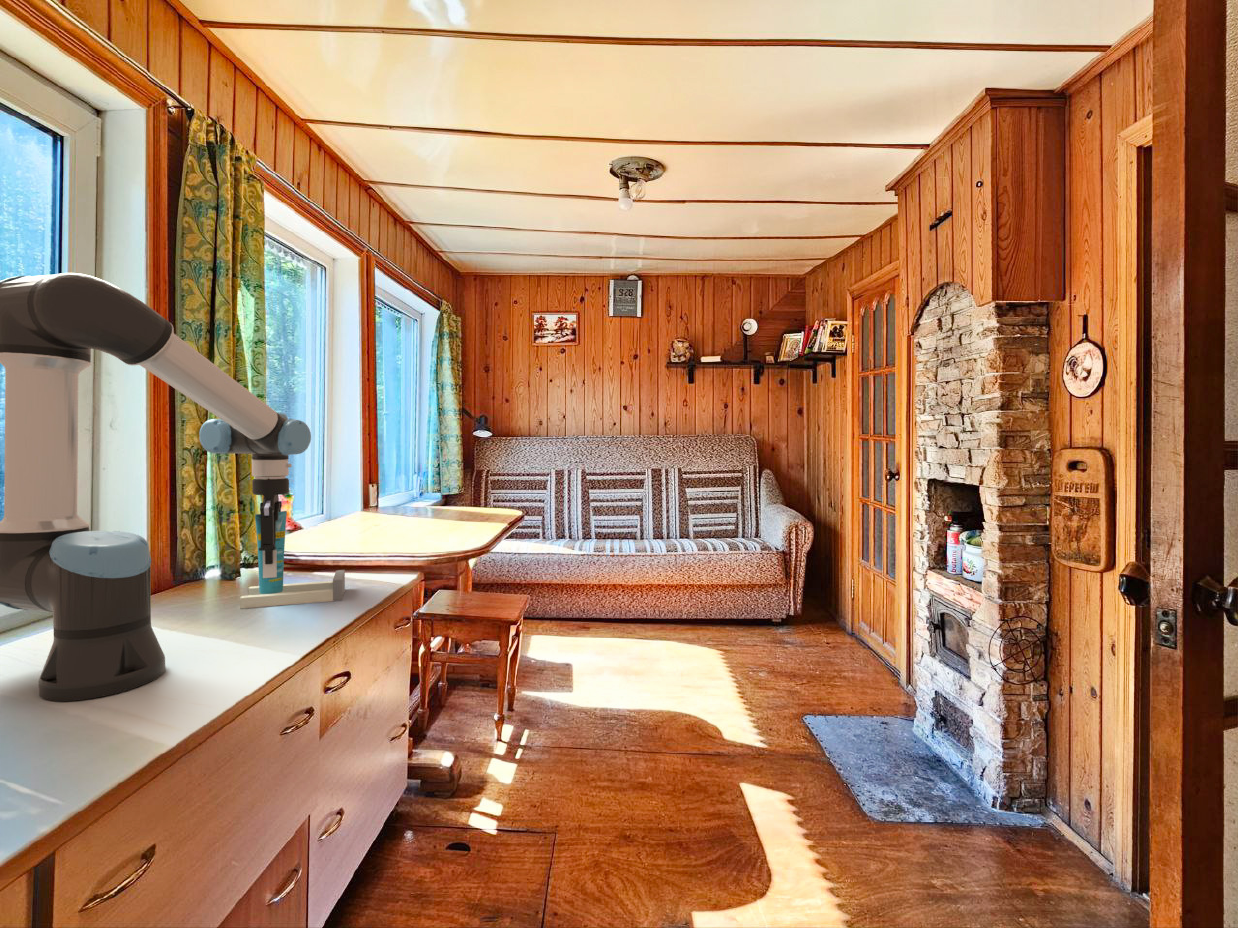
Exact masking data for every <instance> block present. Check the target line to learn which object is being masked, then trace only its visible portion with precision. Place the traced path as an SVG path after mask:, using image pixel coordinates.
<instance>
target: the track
mask: <svg viewBox="0 0 1238 928" xmlns="http://www.w3.org/2000/svg"><path fill="white" fill-rule="evenodd" d="M345 571H346V570H345V569H339V570H335V573H334V574H333V575H334V576H333V578H332V580H327V581H311V582H310V581H308V582H297V583H283V591H282V592H280V593H274V594H260V593H259V585H256V586H255V585H254V586H249V587H248V594H247V595H241V596H240V598H239V607H240V608H239V609H240V610H241V609H251V608H252V609H253V608H263V607H264V608H265V607H274V606H275V607H278V606H287V605H298V604H299V605H301V604H313V603H314V604H315V603H323V602H327V603H328V602H337V601H343V598H344V593H345V591H346V590H345V589H346V583H345V581H346V580H345V579H346V576H345V575H346V574H345V573H346V572H345Z"/></svg>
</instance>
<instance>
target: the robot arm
mask: <svg viewBox="0 0 1238 928" xmlns="http://www.w3.org/2000/svg"><path fill="white" fill-rule="evenodd" d="M174 329H175V328H174V325H173V324H172V323H171V322H170V321H169V320H167V319H166V318H165V317H164V316H162V315H161V314H160V313H158V312H157V311H156V310H154V309H153V308H152V307H150V306H149V305H147V304H146V303H144V302H143V301H141V300H140V299H139V298H137V297H135V296H133V295H132V294H131V293H128V291H125V290H124V289H122V288H120V287H118V286H116V285H115V284H112V283H110V282H108V281H106V280H103V279H101V278H98V277H95V276H92V275H88V274H84V273H76V272H63V273H56V274H45V275H44V274H43V275H34V276H33V275H32V276H30V275H19V276H12V277H8V278H5V279H2V280H0V364H1V366H3V367H4V370H5V372H4V373H5V374H4V375H5V380H4V382H5V385H4V387H5V390H4V391H5V392H4V492H3V494H4V497H3V498H4V505H3V506H4V507H3V508H4V509H3V510H4V511H3V512H4V513H3V514H4V515H3V518H2V519H1V520H0V605H1V606H4V607H7V608H10V609H15V610H23V611H24V610H25V611H27V610H28V611H38V612H47V613H52V621H53V622H52V623H53V624H52V625H53V642H52V645H51V647H50V651H49V653H48V655H47V658H46V660H45V663H44V664H43V669H42V671H41V674H40V675H39V678H38V696H39V697H40V698H42V699H44V700H47V701H56V702H57V701H58V702H69V701H70V702H71V701H80V700H81V701H82V700H83V701H84V700H88V699H89V700H90V699H96V698H101V697H106V696H111V695H114V694H119V693H123V692H126V691H129V690H133V689H135V688H139V687H142V686H144V685H147V684H148V683H150V682H152V681H155V680H156V679H158V678H159V677H160V676H161V677H162V675H163V674H164V673H165V672H166V657H165V653H164V651H163V650H162V647H161V644H160V643H159V641H158V638H157V636H156V634H155V632H154V629H153V626H152V609H151V606H152V603H151V601H152V600H151V598H152V597H151V594H152V593H151V564H152V557H151V553H150V546H149V543H148V541H147V540H146V539H145V538H144V537H143V536H141V535H139V534H136V533H131V532H126V531H121V530H119V531H116V530H115V531H114V530H113V531H108V530H90V523H88V522H87V521H86V520H84V519H83V518H82V517H80V516H79V515H78V476H79V475H78V473H79V471H78V469H79V467H78V466H79V465H78V461H79V460H78V459H79V456H78V455H79V453H78V452H79V450H78V449H79V447H78V445H79V443H78V442H79V431H78V430H79V429H78V428H79V375H80V373H81V372H83V371H84V370H86V369H87V368H89V367H90V366H91V365H92V364H91V363H92V362H91V357H92V354H91V353H92V350H97V351H101V352H104V353H106V354H109V355H111V356H114V357H115V358H116V359H118V360H120V361H121V362H123V363H124V364H125V365H128V366H140V367H142V368H143V369H145V370H146V371H147V372H150V373H151V374H153V375H154V376H156V377H157V378H158V379H160V380H162V381H163V382H165V383H166V384H168V386H171V387H172V388H173V389H175V390H176V391H177V392H179V393H181V394H182V395H184V396H185V397H187V398H188V399H190V400H192V401H193V402H195V403H196V405H199V406H200V407H202V408H203V409H205V410H206V411H208V412H210V413H211V414H212V415H214V416H216V417H217V418H211V419H207V420H206V421H205V422H203V424H202V425H201V427H200V429H199V442H200V445H201V447H202V449H204V450H205V451H206V452H208V453H210V454H220V455H226V454H228V455H229V454H237V455H238V454H241V455H242V454H243V455H245V454H246V455H250V454H251V476H252V477H254V478H253V479H252V481H251V483H252V484H251V485H252V486H251V488H252V491H251V492H252V494H253V495H255V496H263V500H262V502H260V503H259V504H260V505H259V514H261V548H259V551H263V578H273V577H277V554H276V549H275V548H276V546H275V538H276V521H278V519H279V512H281V511H282V507H283V504H282V502H283V501H281V500H280V499H279V496H280V495H287V494H289V492H290V479H289V478H288V476H289V475H290V474H289V473H290V471H289V468H292V467H293V466H292V463H290V462H289V461H290V460H289V459H290V458H289V456H290V455H292V456H293V455H299V454H303V453H304V452H305V451H307V450H308V448H309V446H310V444H311V440H312V433H311V430H310V428H309V426H308V424H307V423H306V422H304V421H302V420H301V419H300V420H299V419H294V418H288V417H289V416H288V415H287V414H286V413H283V412H277V411H276V410H274V409H273V408H272V407H271V406H269V405H268V404H267V403H265V402H264V401H263V400H261V399H260V398H259V397H257V396H256V395H255V394H253V392H251V391H249V390H248V389H247V388H246V387H244V386H243V385H242V384H240V383H239V382H238V381H237V380H235V379H234V378H233V377H231V376H230V375H229V374H227V372H225V371H223V370H222V369H221V368H220V367H218V366H217V365H216V364H215V363H213V362H212V361H211V360H209V358H206V357H205V356H204V355H203V354H201V353H200V352H199V351H197V350H196V349H195V348H194V347H192V346H191V345H189V344H188V343H187V342H186V341H184V340H183V339H181V338H180V337H179V336H178V335H177V334H175V330H174ZM268 543H270V544H268Z"/></svg>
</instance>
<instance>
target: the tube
mask: <svg viewBox="0 0 1238 928" xmlns="http://www.w3.org/2000/svg"><path fill="white" fill-rule="evenodd" d="M287 512H288V511H287V510H283V511H282V510H281V512H279V519H278V521H276V538H275V546H276V548H275V549H276V554H277V577H273V578H263V551H259V548H261V514H260V513H255V515H254V519H255V530H256V531H255V532H256V540H257V542H256V544H257V545H256V546H257V560H258V561H257V562H258V563H257V564H258V586H259V593H260V594H274V593H280V592H282V591H283V584H284V568H285V567H284V566H285V565H284V564H285V563H284V562H285V542H286V529H287V528H286V527H287V526H286V525H287V516H288V515H287ZM268 544H270V543H268Z"/></svg>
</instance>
